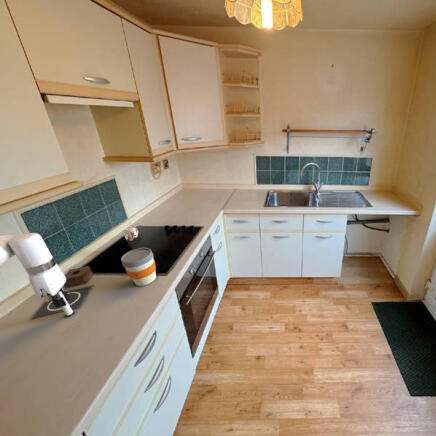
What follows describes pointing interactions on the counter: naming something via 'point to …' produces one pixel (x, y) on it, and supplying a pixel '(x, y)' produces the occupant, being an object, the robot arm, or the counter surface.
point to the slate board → (74, 301)
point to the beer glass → (133, 238)
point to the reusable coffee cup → (140, 265)
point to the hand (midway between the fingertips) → (63, 303)
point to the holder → (77, 276)
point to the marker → (66, 308)
